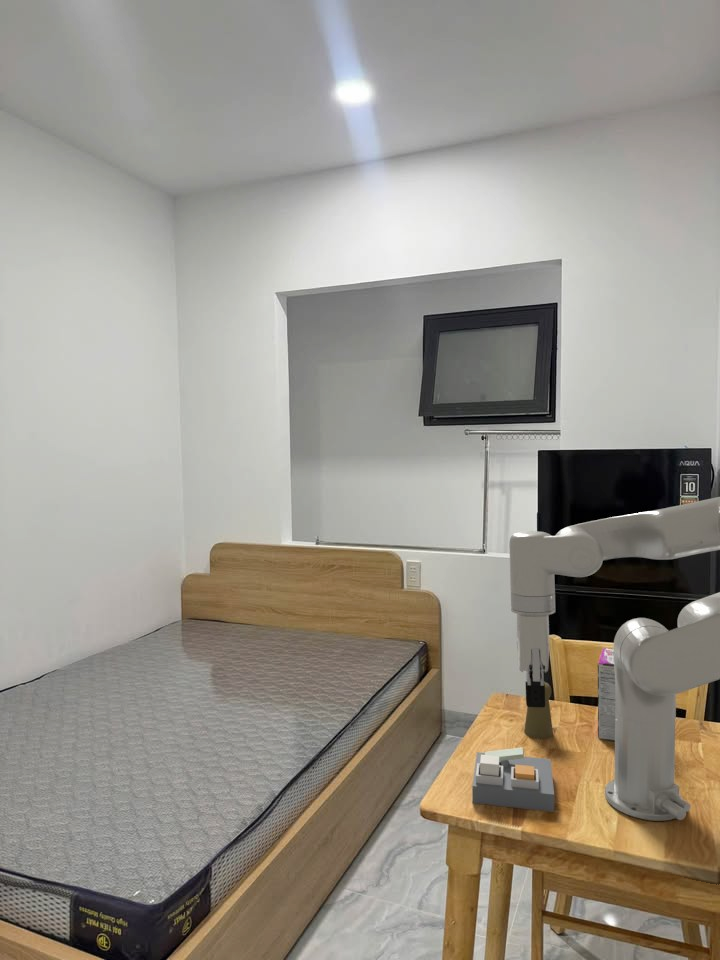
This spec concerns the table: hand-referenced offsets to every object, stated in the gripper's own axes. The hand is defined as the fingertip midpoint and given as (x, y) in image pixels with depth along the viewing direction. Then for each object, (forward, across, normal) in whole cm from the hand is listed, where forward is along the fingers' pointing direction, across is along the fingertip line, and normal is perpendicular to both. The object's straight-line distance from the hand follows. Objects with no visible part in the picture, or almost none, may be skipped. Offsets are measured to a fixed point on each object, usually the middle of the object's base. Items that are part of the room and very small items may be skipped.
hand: (535, 705), depth 118 cm
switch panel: (+16, -1, -4) cm, 16 cm away
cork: (+16, -26, +2) cm, 30 cm away
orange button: (+13, +2, -2) cm, 13 cm away
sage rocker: (+12, -4, -6) cm, 13 cm away
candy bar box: (+17, -29, +17) cm, 38 cm away
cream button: (+11, +2, -8) cm, 14 cm away
